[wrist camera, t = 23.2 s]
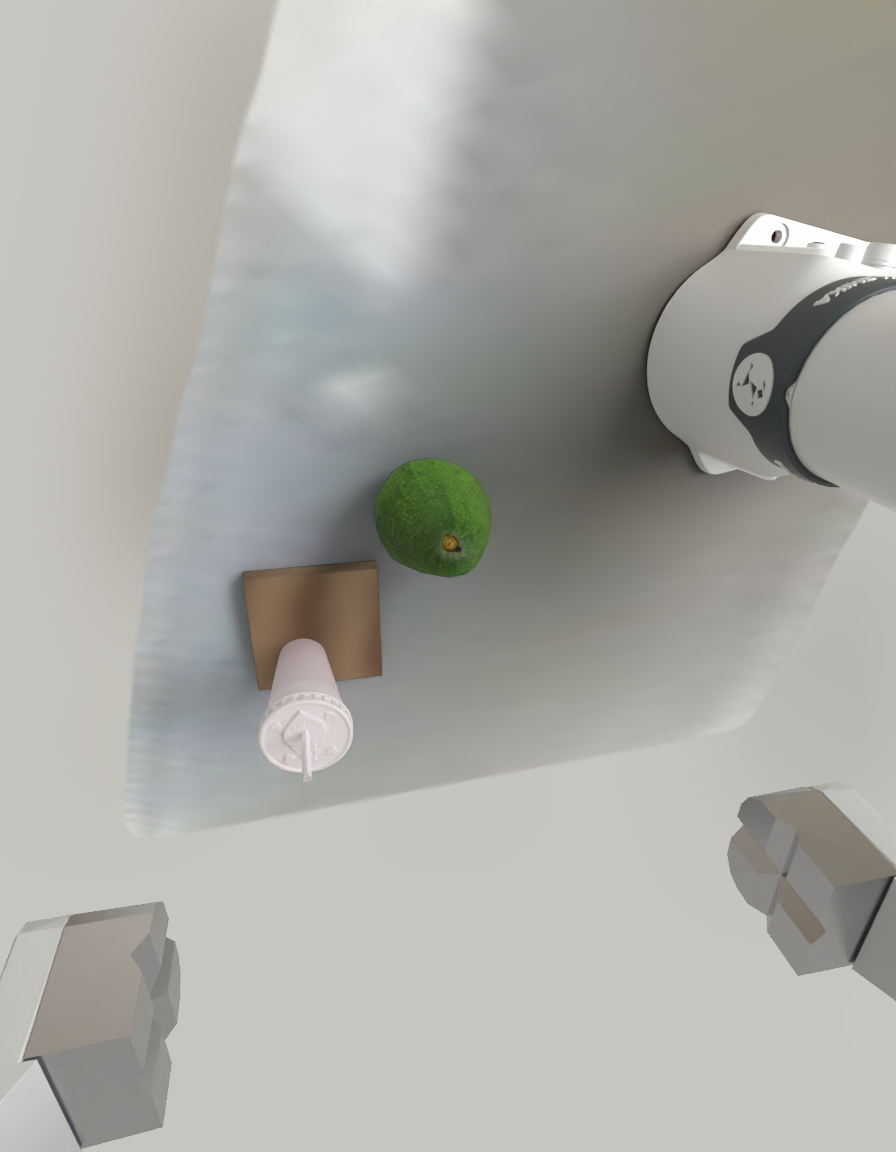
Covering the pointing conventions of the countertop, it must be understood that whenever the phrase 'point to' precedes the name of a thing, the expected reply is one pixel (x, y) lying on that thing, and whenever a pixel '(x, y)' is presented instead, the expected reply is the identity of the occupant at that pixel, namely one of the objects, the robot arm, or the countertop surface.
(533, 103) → the countertop surface
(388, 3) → the countertop surface
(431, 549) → the avocado
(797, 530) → the countertop surface
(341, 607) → the coaster board
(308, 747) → the smoothie
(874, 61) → the countertop surface
